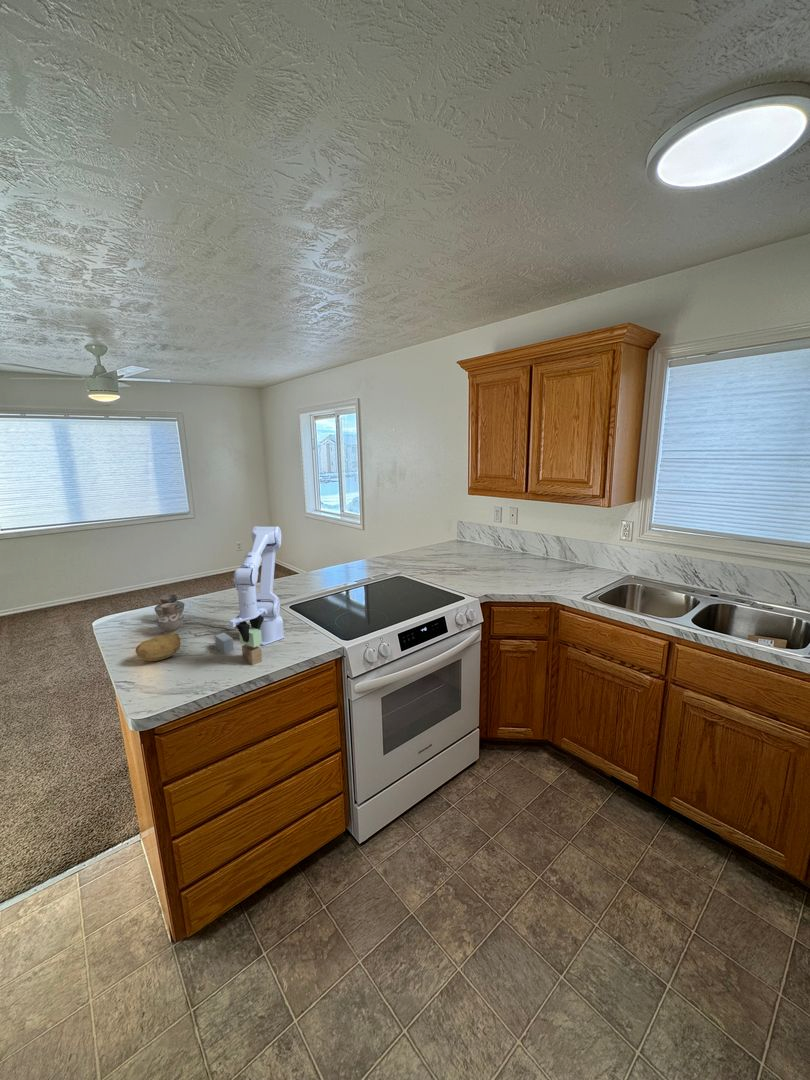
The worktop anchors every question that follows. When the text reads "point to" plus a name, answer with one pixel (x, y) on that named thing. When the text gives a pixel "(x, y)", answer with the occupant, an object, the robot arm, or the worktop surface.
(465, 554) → the worktop surface
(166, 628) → the pottery
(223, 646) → the slate brick
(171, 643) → the potato
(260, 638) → the green brick
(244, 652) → the walnut brick
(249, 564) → the robot arm
